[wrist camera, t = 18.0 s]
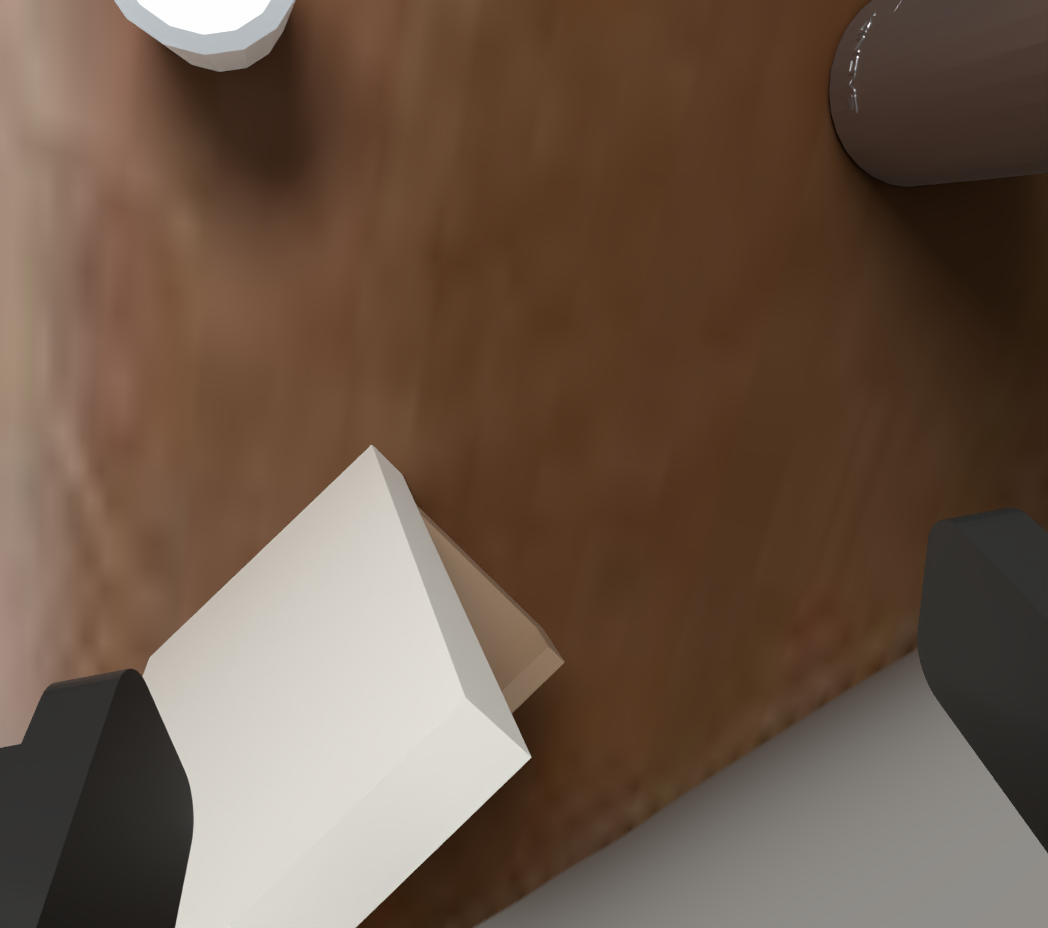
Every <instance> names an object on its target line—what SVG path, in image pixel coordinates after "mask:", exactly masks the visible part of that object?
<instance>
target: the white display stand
mask: <svg viewBox="0 0 1048 928" xmlns="http://www.w3.org/2000/svg"><path fill="white" fill-rule="evenodd" d="M563 663H564V660H563V659H562V657H561V656H560V654H559V653H558V651H557V649H556V648H555V646H554V645H553V643H552V642H551V640H550V639H549V637H548V635H547V634H546V632H545V631H544V629H543V628H542V627H541V626H540V625H539V624H538V623H537V622H536V621H535V620H534V619H532V618H531V617H530V616H529V615H528V614H527V613H526V612H525V611H524V610H523V609H522V608H521V607H520V606H519V605H518V604H517V603H516V602H515V601H514V600H513V599H512V598H511V597H510V596H509V595H508V594H507V593H506V592H505V591H504V590H503V589H502V588H501V587H500V586H499V585H498V584H497V583H496V582H495V581H494V580H493V579H492V578H491V577H490V576H489V575H487V574H486V573H485V572H484V571H483V570H482V569H481V568H480V567H479V566H478V565H477V564H476V563H475V562H474V561H473V560H472V559H471V558H470V557H469V556H468V555H467V554H466V553H465V552H464V551H463V550H462V549H461V548H460V547H459V546H458V545H457V544H456V543H455V542H454V541H453V540H452V539H451V538H450V537H449V536H448V535H447V534H446V533H445V532H444V531H442V530H441V529H440V528H439V527H438V526H437V525H436V524H435V523H434V522H433V521H432V520H431V519H430V518H429V517H428V516H427V515H426V514H425V513H424V512H423V511H422V510H421V509H420V508H419V507H418V506H417V505H416V504H415V502H414V499H413V497H412V495H411V493H410V491H409V488H408V486H407V484H406V482H405V480H404V477H403V475H402V474H401V473H400V472H399V471H398V470H397V469H396V468H395V467H394V466H393V465H392V464H391V463H390V462H389V461H388V460H387V459H386V458H385V457H384V456H383V455H382V454H381V453H380V452H379V451H378V450H377V449H376V448H375V447H374V446H373V445H371V446H370V447H369V448H368V449H367V450H366V451H365V452H364V453H362V454H361V455H360V456H359V457H358V458H357V459H356V460H355V461H354V462H353V463H352V464H351V465H350V466H349V467H348V468H347V469H346V470H345V471H344V472H343V473H342V474H341V475H340V476H338V477H337V478H336V479H335V480H334V481H333V482H332V483H331V484H330V485H329V486H328V487H327V488H326V489H325V490H324V491H323V492H322V493H321V494H320V495H319V496H318V497H317V498H316V499H314V500H313V501H312V502H311V503H310V504H309V505H308V506H307V507H306V508H305V509H304V510H303V511H302V512H301V513H300V514H299V515H298V516H297V517H296V518H295V519H294V520H293V521H292V522H290V523H289V524H288V525H287V526H286V527H285V528H284V529H283V530H282V531H281V532H280V533H279V534H278V535H277V536H276V537H275V538H274V539H273V540H272V541H271V542H270V543H269V544H268V545H266V546H265V547H264V548H263V549H262V550H261V551H260V552H259V553H258V554H257V555H256V556H255V557H254V558H253V559H252V560H251V561H250V562H249V563H248V564H247V565H246V566H245V567H243V568H242V569H241V570H240V571H239V572H238V573H237V574H236V575H235V576H234V577H233V578H232V579H231V580H230V581H229V582H228V583H227V584H226V585H225V586H224V587H223V588H222V589H221V590H219V591H218V592H217V593H216V594H215V595H214V596H213V597H212V598H211V599H210V600H209V601H208V602H207V603H206V604H205V605H204V606H203V607H202V608H201V609H200V610H199V611H198V612H197V613H195V614H194V615H193V616H192V617H191V618H190V619H189V620H188V621H187V622H186V623H185V624H184V625H183V626H182V627H181V628H180V629H179V630H178V631H177V632H176V633H175V634H174V635H173V636H171V637H170V638H169V639H168V640H167V641H166V642H165V643H164V644H163V645H162V646H161V647H160V648H159V649H158V650H157V651H156V652H155V653H154V654H153V655H152V656H151V657H150V658H149V661H148V664H147V666H146V669H145V672H144V674H143V679H144V680H145V682H146V684H147V686H148V689H149V691H150V693H151V695H152V698H153V700H154V702H155V704H156V707H157V709H158V711H159V713H160V716H161V718H162V720H163V722H164V725H165V727H166V729H167V731H168V734H169V736H170V738H171V740H172V743H173V745H174V747H175V749H176V752H177V754H178V756H179V758H180V761H181V763H182V765H183V767H184V770H185V772H186V775H187V777H188V781H189V784H190V789H191V794H192V800H193V813H194V828H193V838H192V844H191V849H190V854H189V859H188V864H187V869H186V875H185V880H184V885H183V890H182V895H181V900H180V905H179V910H178V915H177V920H176V926H175V928H356V927H357V926H358V925H359V924H360V923H361V922H362V921H363V920H364V919H365V918H366V917H367V916H368V915H369V914H370V913H371V912H372V911H373V910H374V909H375V908H376V907H378V906H379V905H380V904H381V903H382V902H383V901H384V900H385V899H386V898H387V897H388V896H389V895H390V894H391V893H392V892H393V891H394V890H395V889H396V888H397V887H398V886H399V885H400V884H401V883H402V882H403V881H404V880H405V879H406V878H407V877H408V876H410V875H411V874H412V873H413V872H414V871H415V870H416V869H417V868H418V867H419V866H420V865H421V864H422V863H423V862H424V861H425V860H426V859H427V858H428V857H429V856H430V855H431V854H432V853H433V852H434V851H435V850H436V849H437V848H438V847H439V846H441V845H442V844H443V843H444V842H445V841H446V840H447V839H448V838H449V837H450V836H451V835H452V834H453V833H454V832H455V831H456V830H457V829H458V828H459V827H460V826H461V825H462V824H463V823H464V822H465V821H466V820H467V819H468V818H469V817H470V816H472V815H473V814H474V813H475V812H476V811H477V810H478V809H479V808H480V807H481V806H482V805H483V804H484V803H485V802H486V801H487V800H488V799H489V798H490V797H491V796H492V795H493V794H494V793H495V792H496V791H497V790H498V789H499V788H500V787H501V786H502V785H504V784H505V783H506V782H507V781H508V780H509V779H510V778H511V777H512V776H513V775H514V774H515V773H516V772H517V771H518V770H519V769H520V768H521V767H522V766H523V765H524V764H525V763H526V762H527V761H528V760H529V759H530V758H531V755H530V753H529V751H528V749H527V746H526V744H525V742H524V740H523V738H522V736H521V733H520V731H519V729H518V727H517V725H516V722H515V720H514V718H513V716H512V713H513V712H514V711H515V710H516V709H517V708H518V707H519V706H520V705H521V704H522V703H523V702H524V701H525V700H526V699H527V698H528V697H529V696H530V695H531V694H532V693H533V692H534V691H535V690H536V689H538V688H539V687H540V686H541V685H542V684H543V683H544V682H545V681H546V680H547V679H548V678H549V677H550V676H551V675H552V674H553V673H554V672H555V671H556V670H557V669H558V668H559V667H560V666H561V665H562V664H563Z"/></svg>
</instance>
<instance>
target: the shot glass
mask: <svg viewBox="0 0 1048 928" xmlns="http://www.w3.org/2000/svg"><path fill="white" fill-rule="evenodd" d="M114 1H115V2H116V4H117V5H118V6H119V8H120V9H121V11H122V12H123V14H124V15H125V16H126V18H127V19H128V20H130V21H131V22H133V23H134V24H135V25H137V26H138V27H140V28H141V29H142V30H144V31H145V32H146V33H148V34H149V35H151V36H152V37H153V38H155V39H156V40H158V41H159V42H160V43H162V44H163V45H165V46H166V47H167V48H169V49H170V50H172V51H173V52H174V53H176V54H177V55H179V56H180V57H181V58H183V59H184V60H186V61H187V62H189V63H190V64H191V65H194V66H198V67H202V68H206V69H210V70H214V71H218V72H223V71H230V70H237V69H243V68H248V67H249V66H251V65H252V64H254V63H255V62H257V61H258V60H260V59H262V58H263V57H265V56H266V55H268V54H269V53H270V52H271V50H272V48H273V47H274V45H275V44H276V42H277V40H278V39H279V37H280V36H281V34H282V32H283V31H284V28H285V26H286V23H287V21H288V18H289V16H290V13H291V11H292V8H293V6H294V3H295V1H296V0H114Z"/></svg>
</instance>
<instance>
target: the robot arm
mask: <svg viewBox="0 0 1048 928" xmlns="http://www.w3.org/2000/svg"><path fill="white" fill-rule="evenodd" d="M829 95H830V106H831V114H832V118H833V121H834V125H835V128H836V132H837V134H838V136H839V138H840V140H841V142H842V144H843V146H844V148H845V150H846V152H847V153H848V154H849V155H850V156H851V158H852V159H853V160H854V161H855V162H856V164H857V165H858V166H859V167H860V168H862V169H863V170H864V171H866V172H867V173H868V174H870V175H871V176H872V177H874V178H876V179H879V180H881V181H883V182H886V183H888V184H892V185H898V186H904V187H911V186H922V185H933V184H943V183H953V182H965V181H976V180H985V179H995V178H1004V177H1014V176H1023V175H1033V174H1042V173H1048V0H872V1H871V2H870V3H868V4H867V5H866V6H865V7H864V8H863V9H862V10H860V11H859V13H858V14H857V15H856V17H855V18H854V19H853V21H852V22H851V23H850V25H849V26H848V27H847V29H846V31H845V33H844V35H843V37H842V39H841V41H840V43H839V45H838V47H837V50H836V54H835V57H834V61H833V65H832V68H831V77H830V88H829ZM917 644H918V652H919V658H920V663H921V666H922V669H923V672H924V675H925V678H926V680H927V682H928V685H929V687H930V688H931V690H932V692H933V694H934V695H935V697H936V699H937V700H938V701H939V702H940V704H941V706H942V707H943V708H944V710H945V711H946V713H947V714H948V715H949V717H950V718H951V719H952V721H953V722H954V724H955V725H956V726H957V728H958V729H959V731H960V732H961V733H962V735H963V736H964V737H965V739H966V740H967V742H968V743H969V744H970V746H971V747H972V749H973V750H974V751H975V753H976V754H977V755H978V757H979V758H980V760H981V761H982V762H983V764H984V765H985V767H986V768H987V769H988V771H989V772H990V774H991V775H992V776H993V777H994V779H995V781H996V782H997V783H998V785H999V786H1000V787H1001V789H1002V790H1003V792H1004V793H1005V794H1006V796H1007V797H1008V799H1009V800H1010V801H1011V803H1012V804H1013V805H1014V807H1015V808H1016V809H1017V811H1018V812H1019V814H1020V815H1021V817H1022V818H1023V819H1024V821H1025V822H1026V824H1027V825H1028V826H1029V828H1030V829H1031V830H1032V832H1033V833H1034V835H1035V836H1036V837H1037V839H1038V840H1039V842H1040V843H1041V844H1042V846H1043V847H1044V848H1045V850H1046V851H1047V853H1048V533H1047V532H1046V531H1045V530H1044V529H1043V528H1042V527H1041V526H1040V525H1039V524H1037V523H1036V522H1035V521H1034V520H1033V519H1032V518H1031V517H1030V516H1029V515H1027V514H1026V513H1025V512H1023V511H1021V510H1020V509H1017V508H1013V507H1012V508H1004V509H999V510H993V511H988V512H982V513H977V514H972V515H966V516H961V517H956V518H950V519H945V520H940V521H938V522H936V523H935V524H934V526H933V527H932V529H931V531H930V534H929V539H928V546H927V555H926V564H925V572H924V581H923V590H922V598H921V607H920V616H919V625H918V634H917ZM193 828H194V813H193V800H192V794H191V789H190V784H189V781H188V777H187V775H186V772H185V770H184V767H183V765H182V763H181V761H180V758H179V756H178V754H177V752H176V749H175V747H174V745H173V743H172V740H171V738H170V736H169V734H168V731H167V729H166V727H165V725H164V722H163V720H162V718H161V716H160V713H159V711H158V709H157V707H156V704H155V702H154V700H153V698H152V695H151V693H150V691H149V689H148V686H147V684H146V682H145V680H144V679H143V677H142V676H141V674H140V673H139V672H138V671H136V670H134V669H126V670H121V671H115V672H110V673H104V674H99V675H94V676H88V677H83V678H78V679H72V680H67V681H61V682H56V683H53V684H51V685H50V686H48V687H47V689H46V690H45V691H44V693H43V695H42V697H41V699H40V701H39V703H38V706H37V708H36V710H35V713H34V715H33V717H32V720H31V722H30V724H29V727H28V729H27V731H26V734H25V736H24V739H23V741H22V743H21V744H19V745H13V746H8V747H3V748H0V928H175V926H176V920H177V915H178V910H179V905H180V900H181V895H182V890H183V885H184V880H185V875H186V869H187V864H188V859H189V854H190V849H191V844H192V838H193Z"/></svg>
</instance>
